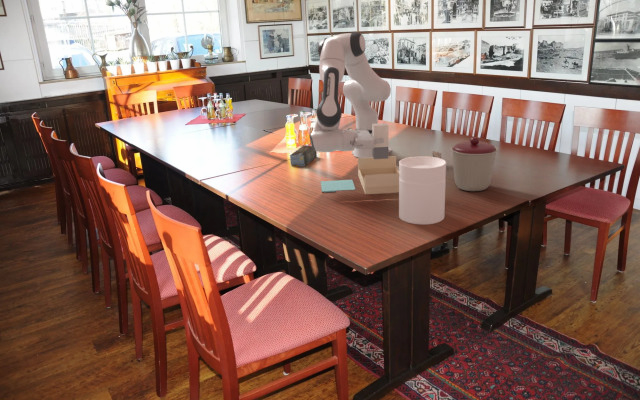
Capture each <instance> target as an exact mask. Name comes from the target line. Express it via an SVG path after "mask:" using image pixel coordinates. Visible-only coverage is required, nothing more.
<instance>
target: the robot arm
mask: <svg viewBox="0 0 640 400" xmlns="http://www.w3.org/2000/svg"><path fill="white" fill-rule="evenodd" d="M366 46H367V45H366V40H365V37H364V34H362V33H360V32H359V31H357V32H356V31H354V32H353V31H352V32H348V33H347V32H345V33H340V34H337V35H333V36H329V37H324V38H323V39H320V41H319V42H318V44H317V54H318V56H319V64H318V65H319V67H318V69H319V70H318V71H319V72H318V73H319V78H320V80H321V81H322V83H323V85H322V96H321V98H322V99H321V101H320V103H319V104H318V106H317V109H316V122H315V125H314V128H313V129H312V132H311V133H310V134H309V140H310V146H312V148H313V149H314V150H315V151H316V152H317V153H318V152H319V153H320V152H321V153H333V152H337V151H338V152H351V154H352V155H353V157H355V158H357V159H358V158H371V157H373V152H372V149H373V148H374V144H378V143H384V139H383V138H379V139H373V138H372V124H377V123H379V121H378V119H379V118H378V117H379V116H378V115H379V114H378V112H377V110H376V109H374V108H373V107H372V106H371V104H370V103H369V102H371V103H372V102H373V103H379V102H384V101H387V100H388V99H389V97H390V95H391V92H392V88H391V85H390V83H389V81H387V80H385V79H384V78H382V77H380V76H379V75H378V74H377V73H376V72H375V71H374V69H372V67H371V65H370V64H369V61H368V58H367V55H366V53H365V51H366V48H367V47H366ZM345 70H346V73H347V75H348V77H349V78H351V79H348V80H346V81H345V82H344V83H343V86H342V93H343V95H344V97H345V99H347V100H348V101H349V103H350V104H351V105H352V106H351V107H352V108H353V110H354V114H355V129H352V128H347V129H340V123H341V119H342V114H343V111H342V107H341V105H340V102H339V87H340V85H339V84H340V83H341V82H342V81H343V80H344V79H343V78H344V76H345V75H344V74H345ZM391 152H392V148H390V147H388V154H390V153H391Z"/></svg>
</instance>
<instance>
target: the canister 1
mask: <svg viewBox="0 0 640 400" xmlns="http://www.w3.org/2000/svg"><path fill="white" fill-rule="evenodd" d="M398 165H399V166H398V171H399V193H398V217H399V219H400V220H401V221H403V222H404V223H408V224H414V225H433V224H437V223H440V222H441V221H443V220H444V219H445V212H446V211H445V210H446V209H445V208H446V206H445V205H446V182H447V181H446V179H447V178H446V174H447V161H446V160H445V159H443V158H442V157H441V158H437V157H433V156H426V155H424V156H422V155H421V156H416V155H415V156H410V157H404V158H402V159H400V160H399V161H398Z"/></svg>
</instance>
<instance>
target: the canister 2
mask: <svg viewBox="0 0 640 400" xmlns="http://www.w3.org/2000/svg"><path fill="white" fill-rule="evenodd" d="M450 150H451V152H452V164H453V176H454V183H455V185H456V187H457V188H458V189H460V190H462V191H467V192H482V191H484V190H486V189H488V187H490V184H491V180H492V176H493V172H494V166H495V161H496V154H497V152H498V151H499V149H498V147H497V146H495V145H493V144H491V143H488V142H483V141H480V138H479V137H477V136H472V137H471V138H470V139H469V141H463V142H459V143H456V144H455V145H453V146H451V147H450Z"/></svg>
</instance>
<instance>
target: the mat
mask: <svg viewBox="0 0 640 400" xmlns="http://www.w3.org/2000/svg"><path fill="white" fill-rule="evenodd" d="M320 186H321V193H322V192H324V193H336V192H337V191H339V192H340V191H354V190H355V191H356V187H355V184H354V180H353V179H342V180H341V179H339V180H320Z"/></svg>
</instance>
